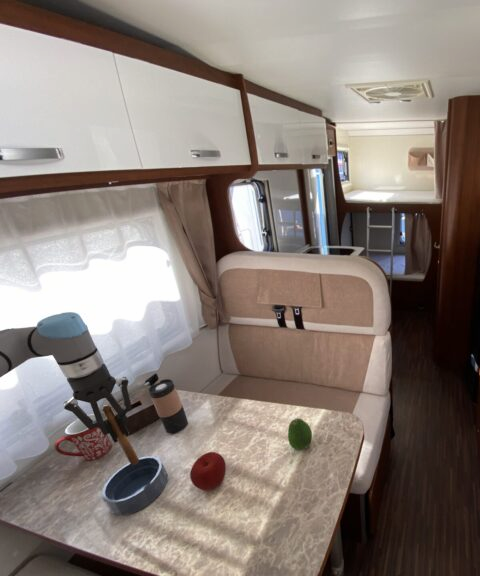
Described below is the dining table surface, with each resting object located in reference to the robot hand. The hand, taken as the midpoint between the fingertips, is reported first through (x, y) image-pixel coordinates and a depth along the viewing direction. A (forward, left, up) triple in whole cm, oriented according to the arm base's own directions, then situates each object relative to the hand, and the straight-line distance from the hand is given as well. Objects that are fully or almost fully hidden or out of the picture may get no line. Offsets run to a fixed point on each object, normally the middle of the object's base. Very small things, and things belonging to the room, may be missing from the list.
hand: (121, 436), depth 86 cm
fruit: (+40, -26, -22) cm, 53 cm away
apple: (+14, -15, -22) cm, 30 cm away
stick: (0, 0, -11) cm, 11 cm away
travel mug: (+14, +20, -22) cm, 33 cm away
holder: (+6, +35, -22) cm, 42 cm away
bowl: (-2, 0, -22) cm, 22 cm away
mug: (-10, +30, -22) cm, 39 cm away
